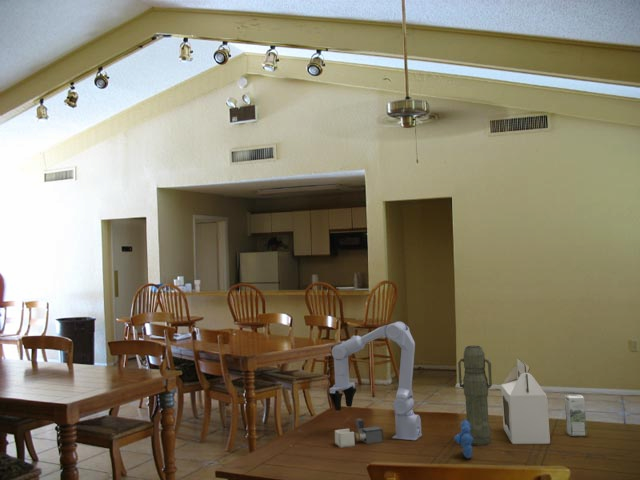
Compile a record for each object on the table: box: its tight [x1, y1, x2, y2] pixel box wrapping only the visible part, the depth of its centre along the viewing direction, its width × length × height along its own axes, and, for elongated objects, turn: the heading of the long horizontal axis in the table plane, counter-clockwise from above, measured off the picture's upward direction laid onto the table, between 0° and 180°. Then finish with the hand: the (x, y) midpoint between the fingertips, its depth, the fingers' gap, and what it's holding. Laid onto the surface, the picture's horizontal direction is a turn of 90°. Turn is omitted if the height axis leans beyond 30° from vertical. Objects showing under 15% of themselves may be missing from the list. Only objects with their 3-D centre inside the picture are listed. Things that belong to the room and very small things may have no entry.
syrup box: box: [564, 394, 588, 437], centre depth 237 cm, size 6×6×14 cm
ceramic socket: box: [334, 428, 356, 448], centre depth 237 cm, size 6×6×5 cm
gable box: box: [500, 358, 551, 445], centre depth 238 cm, size 22×13×28 cm, turn 172°
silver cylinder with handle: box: [354, 417, 366, 442], centre depth 239 cm, size 9×4×8 cm, turn 106°
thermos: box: [457, 345, 493, 446], centre depth 233 cm, size 9×12×35 cm
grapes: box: [453, 419, 474, 459], centre depth 216 cm, size 12×7×12 cm, turn 170°
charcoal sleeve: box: [361, 425, 384, 445], centre depth 240 cm, size 6×5×5 cm
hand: (343, 408), depth 254 cm, fingers open, 7 cm apart
